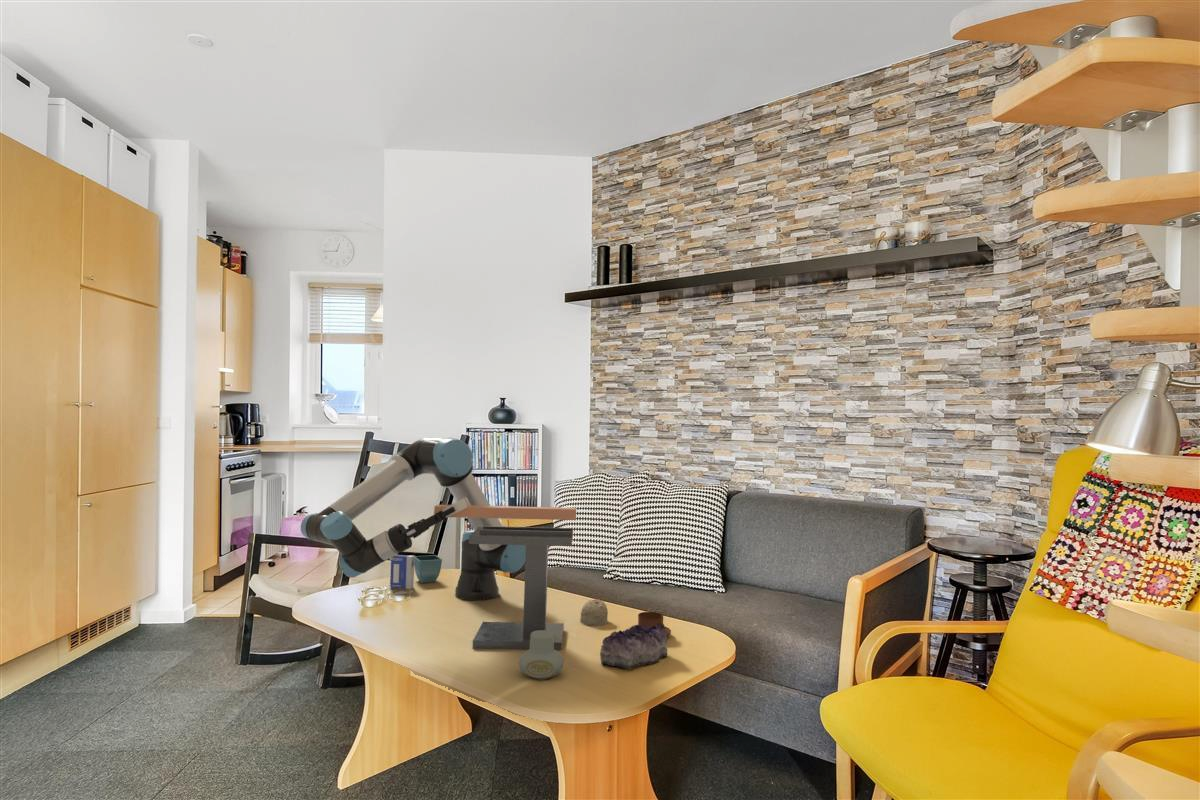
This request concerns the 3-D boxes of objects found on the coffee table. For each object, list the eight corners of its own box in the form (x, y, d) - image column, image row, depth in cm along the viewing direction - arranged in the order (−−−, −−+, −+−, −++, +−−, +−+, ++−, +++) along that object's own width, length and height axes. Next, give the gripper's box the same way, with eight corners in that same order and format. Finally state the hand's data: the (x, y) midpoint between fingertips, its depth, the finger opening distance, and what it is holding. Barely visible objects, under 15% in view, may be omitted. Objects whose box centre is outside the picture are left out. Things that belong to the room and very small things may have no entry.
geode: (644, 647, 189) (650, 611, 189) (675, 664, 180) (681, 627, 180) (590, 659, 175) (596, 621, 175) (621, 678, 167) (627, 639, 166)
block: (434, 516, 191) (434, 506, 191) (437, 515, 195) (437, 504, 195) (575, 520, 192) (576, 509, 192) (576, 518, 196) (576, 507, 196)
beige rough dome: (608, 635, 210) (615, 606, 215) (598, 624, 204) (606, 595, 209) (583, 630, 214) (591, 602, 219) (573, 620, 207) (581, 591, 212)
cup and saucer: (678, 635, 200) (678, 614, 200) (658, 645, 190) (658, 623, 190) (643, 627, 207) (643, 607, 207) (621, 637, 197) (622, 615, 197)
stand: (465, 648, 183) (469, 532, 184) (475, 628, 201) (479, 523, 202) (568, 650, 184) (571, 535, 185) (570, 630, 202) (573, 525, 203)
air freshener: (564, 669, 169) (565, 628, 170) (562, 681, 161) (563, 639, 162) (520, 668, 169) (521, 627, 170) (516, 680, 161) (517, 638, 162)
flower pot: (441, 582, 257) (442, 558, 258) (418, 585, 253) (419, 560, 253) (435, 577, 265) (435, 554, 265) (412, 580, 260) (413, 556, 261)
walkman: (389, 588, 246) (391, 555, 247) (392, 586, 249) (394, 553, 250) (411, 589, 246) (412, 556, 246) (413, 587, 248) (414, 554, 249)
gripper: (407, 547, 201) (477, 509, 202) (391, 559, 184) (467, 517, 185) (395, 525, 201) (465, 487, 202) (378, 534, 184) (454, 493, 185)
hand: (466, 501), depth 194 cm, fingers closed on block, 4 cm apart
